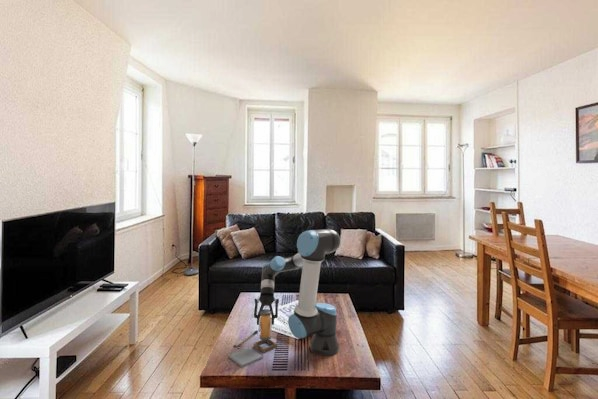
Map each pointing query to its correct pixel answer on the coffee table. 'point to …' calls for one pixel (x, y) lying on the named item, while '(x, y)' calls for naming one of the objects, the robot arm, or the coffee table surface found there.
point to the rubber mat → (245, 357)
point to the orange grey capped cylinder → (265, 324)
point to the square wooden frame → (267, 347)
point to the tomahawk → (246, 339)
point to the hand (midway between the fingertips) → (264, 330)
